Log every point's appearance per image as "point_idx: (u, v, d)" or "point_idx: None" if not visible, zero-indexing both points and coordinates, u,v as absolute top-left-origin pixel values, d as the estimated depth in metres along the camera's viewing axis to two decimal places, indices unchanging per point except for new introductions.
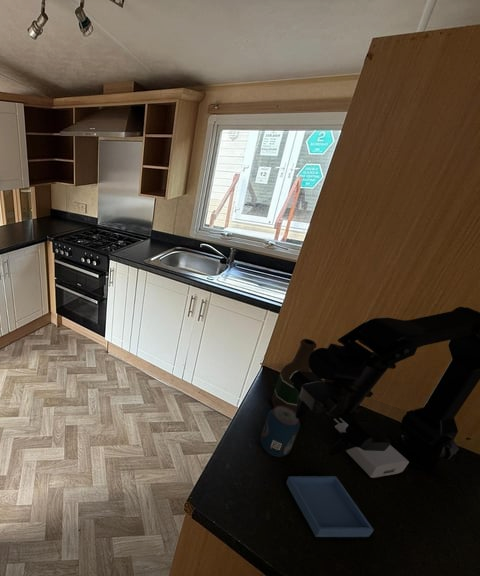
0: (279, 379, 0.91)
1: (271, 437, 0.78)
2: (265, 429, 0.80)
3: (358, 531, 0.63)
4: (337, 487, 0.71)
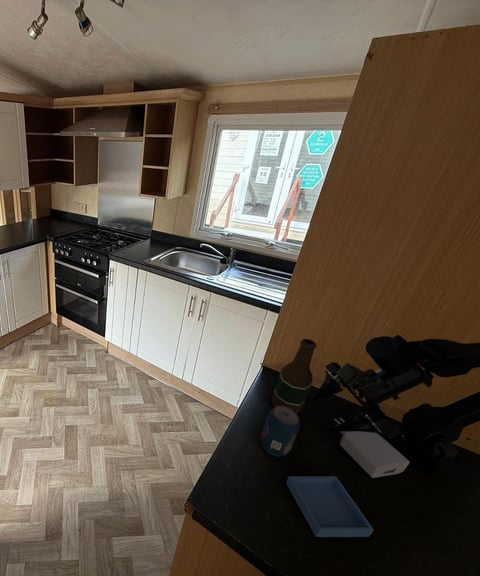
0: (279, 379, 0.91)
1: (271, 437, 0.78)
2: (265, 429, 0.80)
3: (358, 531, 0.63)
4: (337, 487, 0.71)
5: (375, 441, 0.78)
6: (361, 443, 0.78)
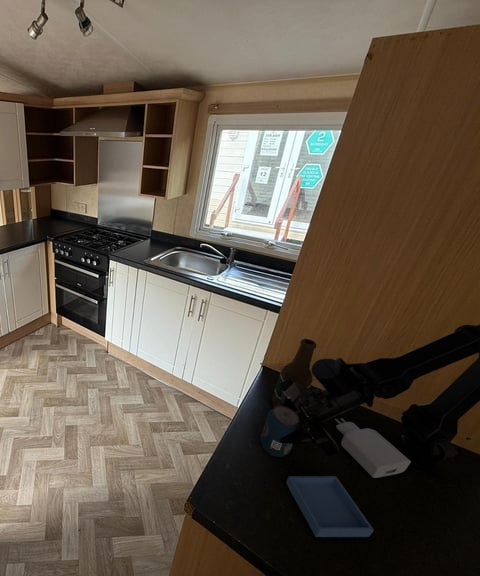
0: (279, 379, 0.91)
1: (271, 437, 0.78)
2: (265, 429, 0.80)
3: (358, 531, 0.63)
4: (337, 487, 0.71)
5: (376, 441, 0.78)
6: (362, 443, 0.78)
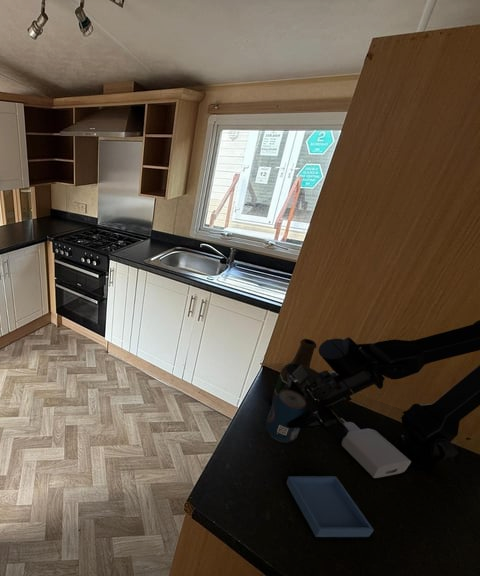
0: (279, 379, 0.91)
1: (278, 422, 0.75)
2: (271, 414, 0.77)
3: (358, 531, 0.63)
4: (337, 487, 0.71)
5: (377, 441, 0.78)
6: (362, 443, 0.78)
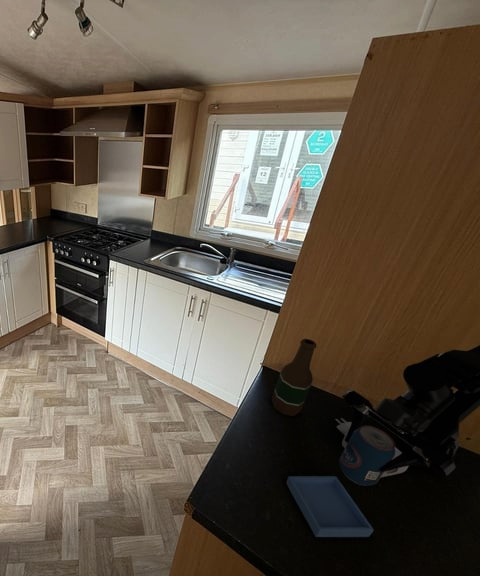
0: (279, 379, 0.91)
1: (367, 468, 0.64)
2: (353, 459, 0.66)
3: (358, 531, 0.63)
4: (337, 487, 0.71)
5: None
6: None
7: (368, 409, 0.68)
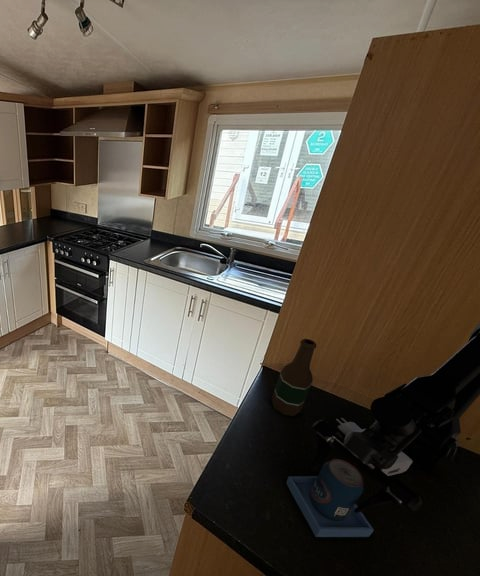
0: (279, 379, 0.91)
1: (336, 504, 0.63)
2: (323, 494, 0.65)
3: (358, 531, 0.63)
4: None
5: None
6: None
7: (337, 440, 0.67)
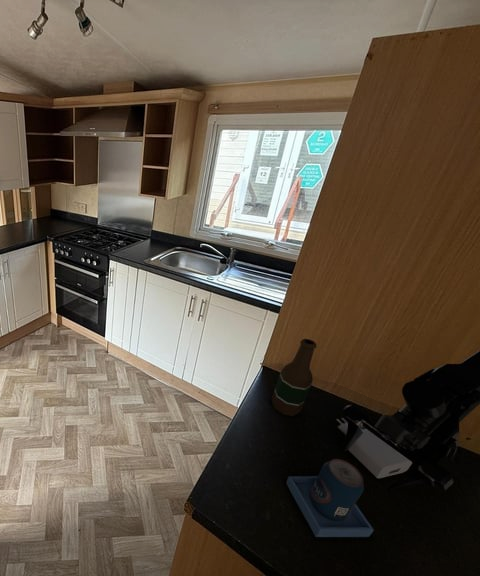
0: (279, 379, 0.91)
1: (336, 504, 0.63)
2: (323, 494, 0.65)
3: (358, 531, 0.63)
4: None
5: (379, 441, 0.78)
6: (365, 443, 0.78)
7: (367, 424, 0.69)
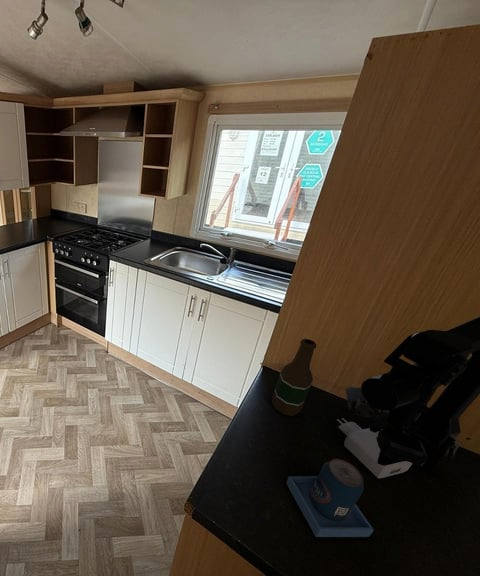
0: (279, 379, 0.91)
1: (336, 504, 0.63)
2: (323, 494, 0.65)
3: (358, 531, 0.63)
4: None
5: None
6: (366, 443, 0.78)
7: None
